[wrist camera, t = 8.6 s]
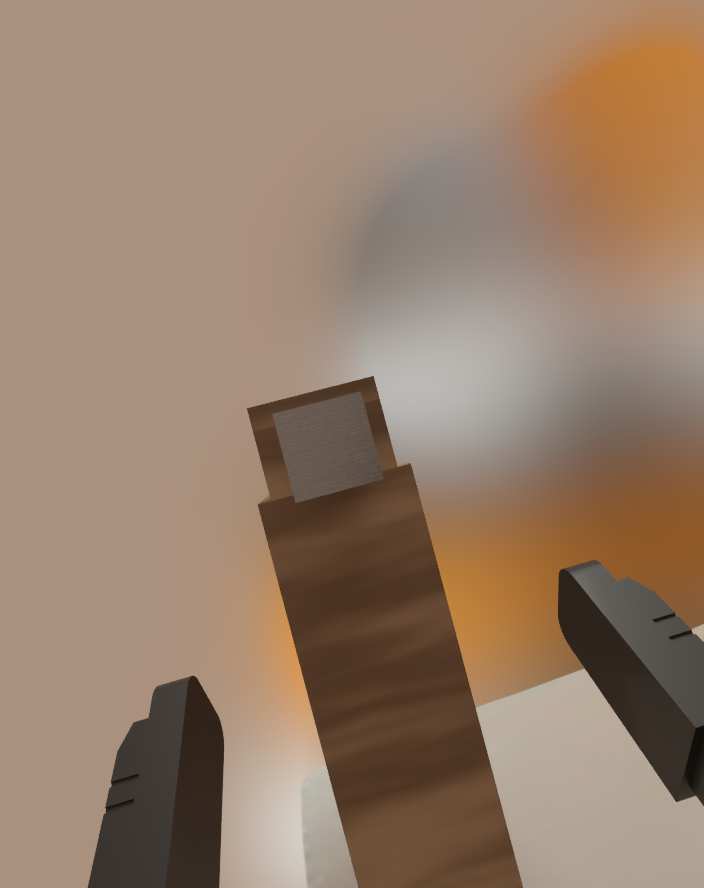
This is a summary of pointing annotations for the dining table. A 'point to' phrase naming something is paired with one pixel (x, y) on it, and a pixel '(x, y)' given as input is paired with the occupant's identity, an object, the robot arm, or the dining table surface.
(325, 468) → the shaft
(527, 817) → the dining table surface
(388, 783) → the tower
